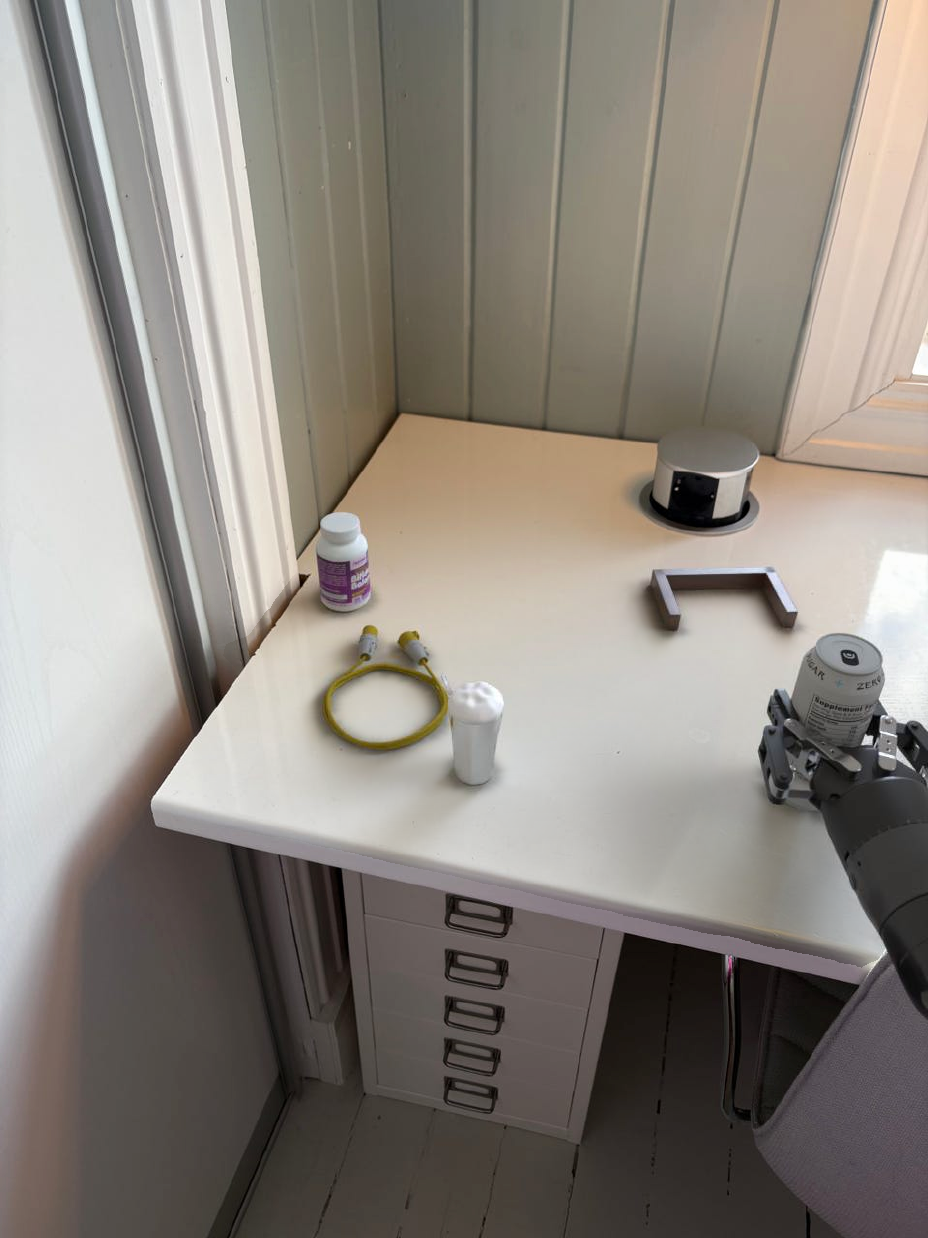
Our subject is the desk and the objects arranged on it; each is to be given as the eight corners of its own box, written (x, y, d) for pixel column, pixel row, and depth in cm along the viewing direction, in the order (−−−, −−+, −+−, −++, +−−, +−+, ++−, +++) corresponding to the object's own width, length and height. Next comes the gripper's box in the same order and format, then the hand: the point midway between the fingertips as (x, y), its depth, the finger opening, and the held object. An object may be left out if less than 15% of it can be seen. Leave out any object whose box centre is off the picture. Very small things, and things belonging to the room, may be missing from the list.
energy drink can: (835, 768, 81) (883, 632, 72) (845, 821, 76) (898, 683, 67) (763, 759, 81) (803, 623, 72) (769, 811, 77) (812, 673, 68)
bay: (650, 584, 102) (652, 569, 101) (769, 581, 103) (773, 566, 102) (666, 630, 96) (669, 615, 95) (794, 627, 96) (798, 611, 95)
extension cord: (480, 659, 92) (481, 644, 91) (415, 769, 80) (415, 752, 79) (370, 630, 95) (369, 615, 94) (292, 730, 84) (290, 714, 82)
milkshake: (453, 743, 83) (454, 657, 77) (508, 762, 81) (513, 676, 75) (430, 777, 79) (428, 690, 73) (486, 798, 78) (490, 711, 71)
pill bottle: (363, 616, 97) (358, 538, 91) (314, 610, 98) (306, 533, 92) (376, 586, 101) (372, 510, 95) (329, 581, 102) (322, 505, 96)
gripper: (1030, 822, 60) (916, 657, 74) (813, 831, 60) (738, 662, 73) (990, 893, 65) (889, 725, 78) (787, 902, 64) (721, 731, 77)
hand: (816, 695), depth 75 cm, fingers closed on energy drink can, 6 cm apart
